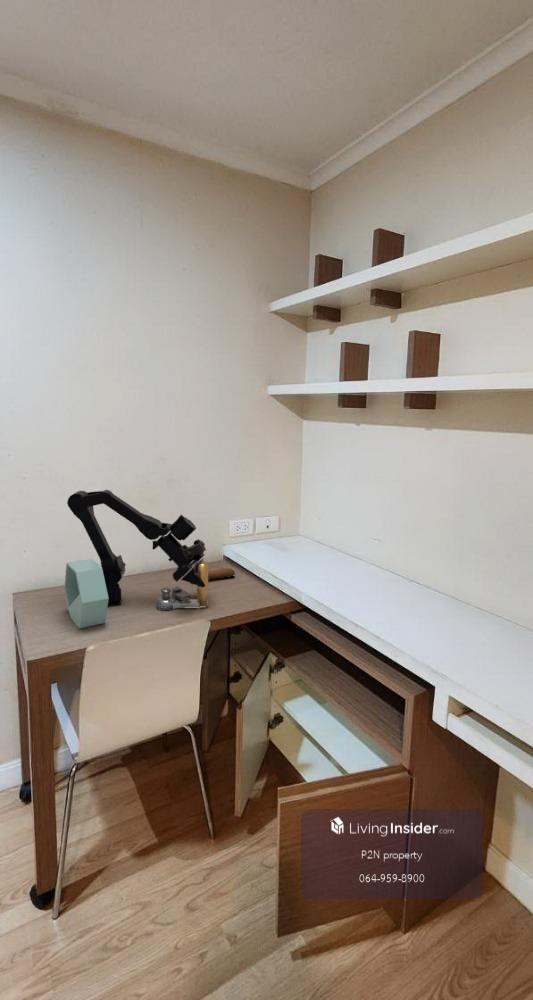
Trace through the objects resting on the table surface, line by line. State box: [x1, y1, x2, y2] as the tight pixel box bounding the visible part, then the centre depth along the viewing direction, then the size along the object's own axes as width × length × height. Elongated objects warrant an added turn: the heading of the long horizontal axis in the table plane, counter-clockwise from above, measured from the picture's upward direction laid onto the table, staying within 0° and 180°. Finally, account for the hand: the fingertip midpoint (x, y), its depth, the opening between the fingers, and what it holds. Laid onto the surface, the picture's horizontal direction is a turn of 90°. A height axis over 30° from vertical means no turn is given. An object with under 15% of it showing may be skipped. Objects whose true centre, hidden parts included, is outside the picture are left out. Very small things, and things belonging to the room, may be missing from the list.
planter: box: [63, 558, 109, 629], centre depth 156 cm, size 17×8×21 cm
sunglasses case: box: [208, 567, 236, 580], centre depth 198 cm, size 18×7×7 cm
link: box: [156, 561, 209, 611], centre depth 168 cm, size 17×6×15 cm, turn 97°
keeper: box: [171, 586, 192, 600], centre depth 173 cm, size 4×8×4 cm, turn 38°
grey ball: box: [160, 587, 172, 600], centre depth 168 cm, size 3×3×3 cm
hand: (206, 583), depth 169 cm, fingers open, 5 cm apart
